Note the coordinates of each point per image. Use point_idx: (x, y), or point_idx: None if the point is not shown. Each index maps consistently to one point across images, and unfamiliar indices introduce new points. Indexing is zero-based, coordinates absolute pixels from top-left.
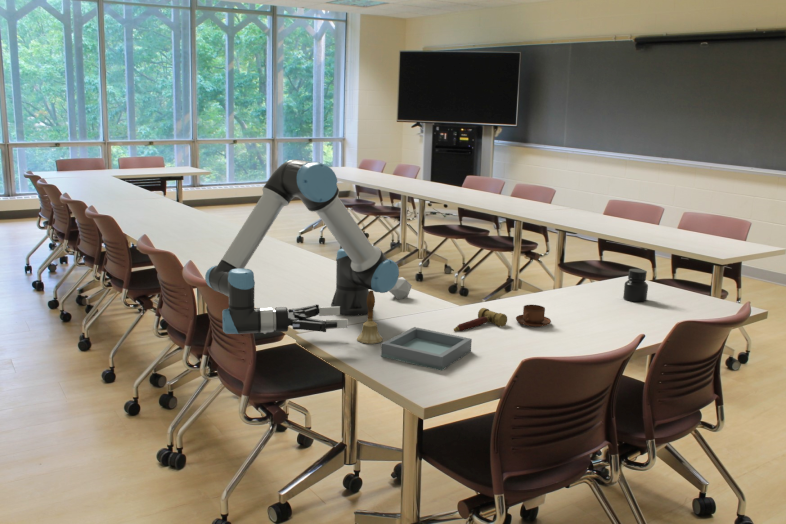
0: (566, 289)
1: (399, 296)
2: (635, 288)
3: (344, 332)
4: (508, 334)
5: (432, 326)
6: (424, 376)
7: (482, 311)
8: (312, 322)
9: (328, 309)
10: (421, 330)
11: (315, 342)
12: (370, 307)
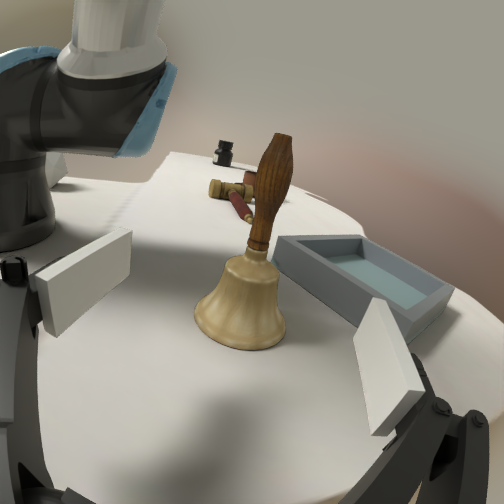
0: (168, 159)
1: (53, 182)
2: (229, 155)
3: (117, 330)
4: (284, 212)
5: (207, 222)
6: (473, 334)
7: (220, 184)
8: (478, 491)
9: (91, 267)
10: (304, 240)
11: (174, 500)
12: (281, 204)
